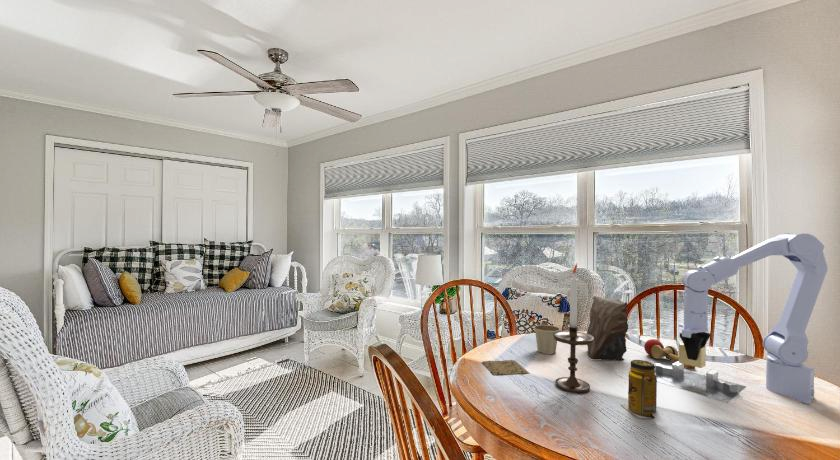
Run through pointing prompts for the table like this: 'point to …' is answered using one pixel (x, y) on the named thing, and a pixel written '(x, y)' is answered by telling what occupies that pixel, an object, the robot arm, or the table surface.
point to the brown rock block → (607, 329)
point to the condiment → (642, 389)
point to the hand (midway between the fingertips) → (694, 358)
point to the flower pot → (546, 338)
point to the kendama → (663, 351)
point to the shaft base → (697, 382)
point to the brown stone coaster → (504, 367)
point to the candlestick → (573, 344)
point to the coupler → (684, 360)
